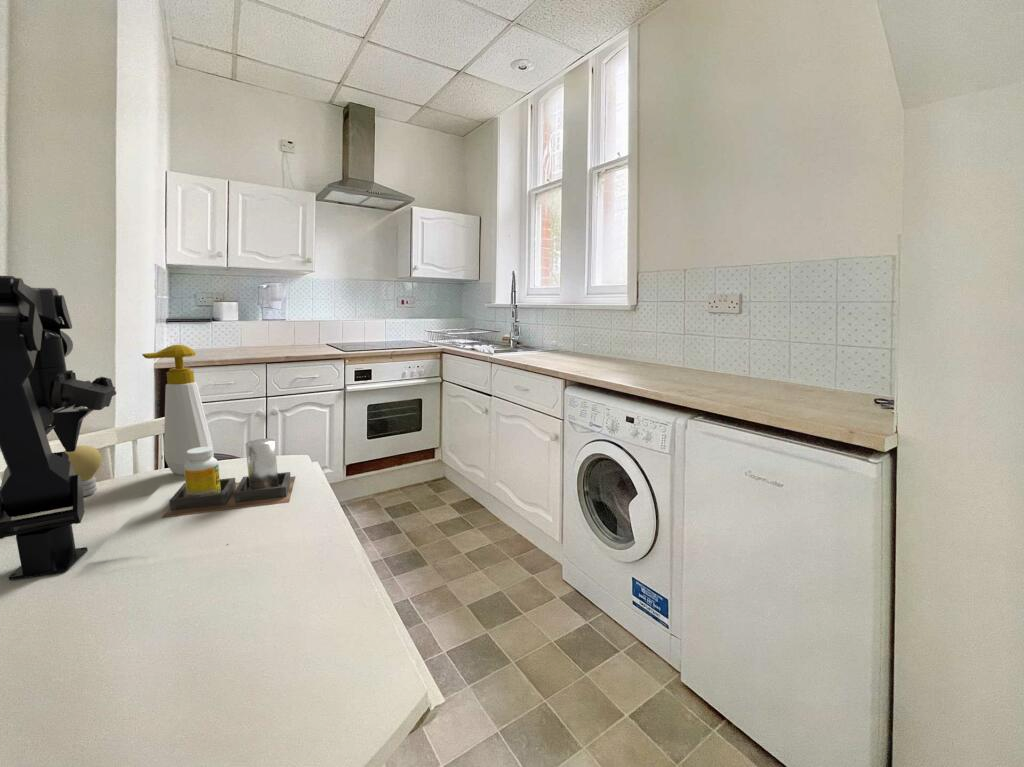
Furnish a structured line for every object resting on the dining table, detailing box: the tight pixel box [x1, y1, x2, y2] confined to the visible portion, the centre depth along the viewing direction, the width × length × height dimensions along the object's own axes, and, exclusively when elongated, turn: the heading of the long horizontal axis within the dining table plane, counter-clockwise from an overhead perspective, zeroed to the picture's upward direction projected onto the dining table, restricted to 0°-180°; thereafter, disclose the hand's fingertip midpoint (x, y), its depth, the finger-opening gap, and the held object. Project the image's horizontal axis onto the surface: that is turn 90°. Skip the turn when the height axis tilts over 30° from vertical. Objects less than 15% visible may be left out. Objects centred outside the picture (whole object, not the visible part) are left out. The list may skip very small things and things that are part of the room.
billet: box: [245, 438, 279, 490], centre depth 91 cm, size 5×5×10 cm
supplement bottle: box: [184, 447, 221, 497], centre depth 87 cm, size 5×5×10 cm
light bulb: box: [62, 445, 103, 497], centre depth 93 cm, size 6×6×10 cm
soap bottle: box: [141, 344, 215, 476], centre depth 101 cm, size 13×10×29 cm
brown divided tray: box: [160, 471, 296, 519], centre depth 90 cm, size 14×20×4 cm
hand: (56, 459), depth 78 cm, fingers open, 9 cm apart
